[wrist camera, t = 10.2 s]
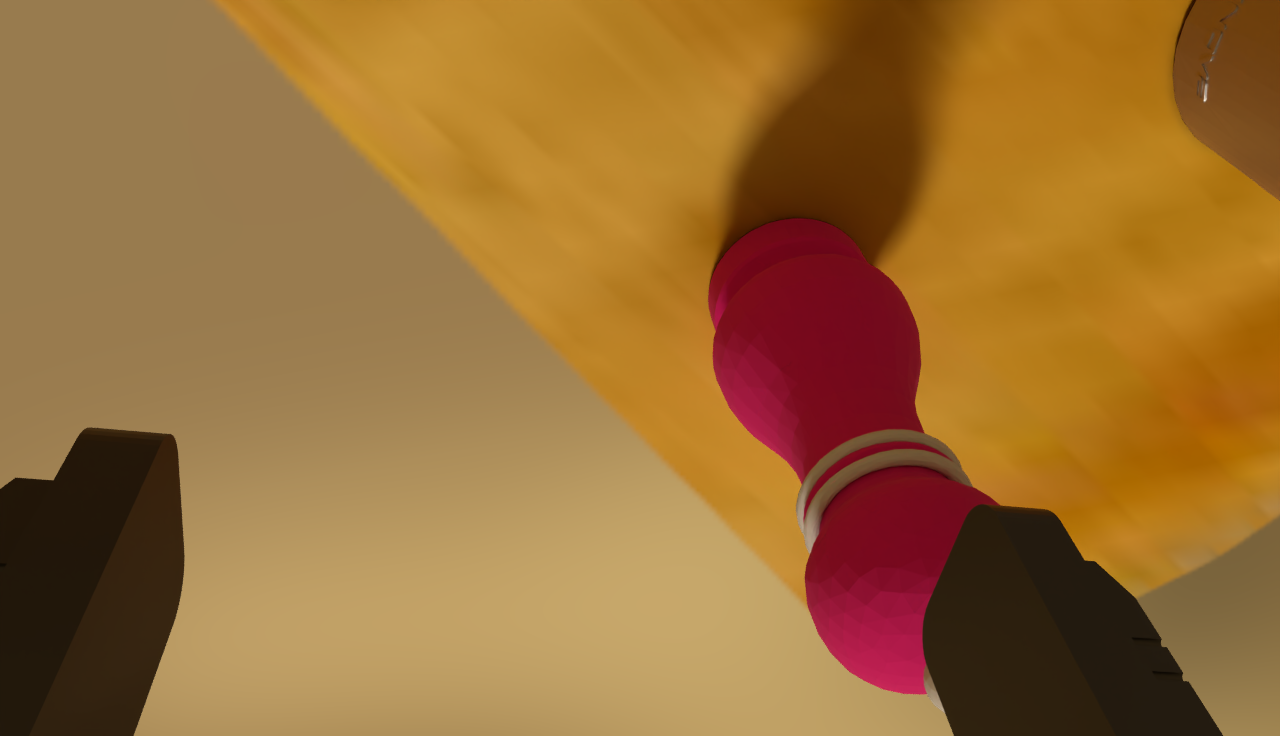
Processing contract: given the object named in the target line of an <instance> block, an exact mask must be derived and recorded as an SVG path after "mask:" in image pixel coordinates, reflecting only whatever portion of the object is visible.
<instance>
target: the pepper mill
mask: <svg viewBox="0 0 1280 736" xmlns="http://www.w3.org/2000/svg"><path fill="white" fill-rule="evenodd" d="M708 302H709V310H710V314H711V318H712V321H713V324H714V327H715V330H716V333H715V336H714V343H713V366H714V371H715V375H716V379H717V382H718V384H719V386H720V388H721V390H722V392H723V395H724V397H725V399H726V401H727V403H728V406H729V408H730V409H731V410H732V412H733V413H734V414H735V416H736V417H737V418H738V420H739V421H740V422H741V423H742V424H743V425H744V427H745V428H746V429H747V430H748V431H749V432H750V433H751V434H752V435H753V436H754V437H755V438H757V439H758V440H759V441H761V442H762V443H763V444H765V445H766V446H767V447H769V448H770V449H771V450H773V451H774V452H776V453H777V454H778V455H780V456H781V457H782V458H783V459H785V460H786V461H787V462H788V464H789V465H790V466H791V467H792V468H793V470H794V471H795V472H796V473H797V475H798V477H799V479H800V481H801V483H802V486H801V489H800V491H799V494H798V499H797V504H796V512H797V519H798V524H799V526H800V529H801V531H802V533H803V534H804V538H805V545H806V547H807V549H808V552H809V554H810V556H809V559H808V562H807V565H806V571H805V586H806V597H807V604H808V608H809V611H810V613H811V616H812V619H813V621H814V624H815V626H816V629H817V632H818V634H819V636H820V637H821V639H822V640H823V642H824V643H825V645H826V646H827V648H828V649H829V651H830V652H831V653H832V655H833V656H834V657H835V658H836V659H837V660H838V661H839V662H840V663H841V664H842V665H843V666H844V667H845V668H846V669H847V670H848V671H849V672H851V673H852V674H854V675H856V676H857V677H859V678H861V679H863V680H864V681H866V682H868V683H870V684H872V685H875V686H877V687H879V688H882V689H884V690H888V691H893V692H898V693H903V694H927V695H928V697H929V699H930V700H931V701H932V703H933V704H934V705H935V706H936V707H937V708H939V709H940V710H942V711H943V712H944V713H945V711H944V709H943V706H942V704H941V701H940V698H939V696H938V693H937V691H936V688H935V686H934V683H933V681H932V678H931V675H930V673H929V670H928V668H927V665H926V661H925V657H924V651H923V642H922V629H923V620H924V615H925V611H926V607H927V605H928V602H929V600H930V597H931V595H932V593H933V591H934V588H935V586H936V584H937V582H938V579H939V577H940V575H941V572H942V570H943V568H944V566H945V563H946V561H947V559H948V556H949V554H950V552H951V550H952V547H953V545H954V543H955V540H956V538H957V536H958V534H959V531H960V529H961V527H962V524H963V522H964V520H965V518H966V516H967V514H968V513H969V512H970V510H971V509H973V508H974V507H975V506H977V505H980V504H987V505H999V504H998V503H997V502H995V501H994V500H993V499H992V498H990V497H989V496H988V495H986V494H984V493H982V492H981V491H979V490H977V489H976V488H973V486H972V484H971V482H970V480H969V478H968V477H967V475H966V474H965V472H964V471H963V470H962V468H961V465H960V462H959V460H958V459H957V457H956V456H955V454H954V453H953V452H952V451H951V450H950V449H949V448H948V447H947V446H946V445H945V444H944V443H943V442H941V441H939V440H938V439H936V438H934V437H932V436H929V435H927V434H925V433H924V431H923V428H922V426H921V423H920V421H919V418H918V416H917V413H916V407H915V397H916V392H917V387H918V382H919V375H920V368H921V355H920V341H919V332H918V328H917V325H916V322H915V319H914V317H913V314H912V312H911V310H910V307H909V305H908V303H907V301H906V299H905V297H904V296H903V294H902V292H901V291H900V289H899V288H898V287H897V286H896V285H895V284H894V282H893V281H892V280H891V279H890V278H889V277H887V276H886V275H885V274H884V273H883V272H881V271H880V270H879V269H878V268H876V267H874V266H872V265H870V264H868V263H867V261H866V259H865V257H864V256H863V254H862V252H861V251H860V249H859V247H858V246H857V245H856V243H855V242H854V241H853V240H852V239H851V238H850V237H849V236H848V235H846V234H845V233H844V232H843V231H841V230H840V229H838V228H837V227H835V226H833V225H830V224H828V223H826V222H822V221H818V220H814V219H804V218H794V219H786V220H779V221H774V222H771V223H768V224H765V225H763V226H761V227H759V228H757V229H755V230H752V231H751V232H749V233H748V234H746V235H745V236H743V237H742V238H741V239H740V240H738V241H737V242H736V243H735V244H734V245H732V247H731V248H730V249H729V250H728V251H727V252H726V253H725V255H724V256H723V258H722V259H721V260H720V262H719V263H718V265H717V267H716V269H715V271H714V274H713V276H712V279H711V283H710V287H709V296H708ZM999 506H1000V505H999Z"/></svg>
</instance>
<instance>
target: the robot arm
mask: <svg viewBox="0 0 1280 736" xmlns="http://www.w3.org/2000/svg"><path fill="white" fill-rule="evenodd" d="M1173 83H1174V94H1175V101H1176V103H1177V106H1178V109H1179V112H1180V114H1181V117H1182V120H1183V121H1184V123H1185V124H1186V125H1187V127H1188V128H1189V129H1190V131H1191V132H1192V134H1193V135H1194V136H1195V137H1196V138H1197V139H1198V140H1200V141H1201V142H1202V143H1204V144H1205V145H1206V146H1208V147H1209V148H1210V149H1212V150H1213V151H1214V152H1216V153H1217V154H1218V155H1220V156H1221V157H1222V158H1224V159H1225V160H1226V161H1228V162H1229V163H1230V164H1232V165H1233V166H1234V167H1236V168H1237V169H1238V170H1240V171H1241V172H1242V173H1244V174H1245V175H1246V176H1248V177H1249V178H1250V179H1252V180H1253V181H1255V182H1256V183H1257V184H1258V185H1259V186H1261V187H1262V188H1263V189H1264V190H1266V191H1267V192H1268V193H1270V194H1271V195H1273V196H1274V197H1275V198H1277V199H1278V200H1279V201H1280V0H1196V2H1195V4H1194V6H1193V8H1192V9H1191V11H1190V13H1189V15H1188V17H1187V19H1186V21H1185V24H1184V27H1183V30H1182V33H1181V36H1180V39H1179V42H1178V45H1177V48H1176V54H1175V62H1174V69H1173ZM178 463H179V461H178V450H177V444H176V440H175V438H174V436H173V435H171V434H162V433H150V432H137V431H126V430H114V429H102V428H86V429H84V430H83V431H82V432H81V433H80V435H79V436H78V438H77V439H76V441H75V443H74V445H73V446H72V448H71V450H70V452H69V454H68V455H67V457H66V459H65V461H64V463H63V464H62V466H61V468H60V470H59V472H58V473H57V475H56V477H55V479H54V480H39V479H26V478H15V479H13V480H12V481H11V482H9V483H8V484H6V485H5V486H4V487H2V488H1V489H0V736H134V733H135V730H136V727H137V725H138V722H139V719H140V716H141V713H142V711H143V708H144V705H145V702H146V699H147V696H148V693H149V691H150V688H151V685H152V683H153V680H154V677H155V674H156V671H157V669H158V666H159V663H160V660H161V657H162V655H163V652H164V649H165V646H166V643H167V641H168V638H169V635H170V632H171V629H172V626H173V624H174V621H175V617H176V614H177V610H178V605H179V601H180V596H181V591H182V584H183V575H184V542H183V525H182V509H181V494H180V478H179V464H178ZM922 642H923V651H924V657H925V661H926V665H927V668H928V670H929V673H930V675H931V678H932V681H933V683H934V686H935V688H936V691H937V693H938V696H939V698H940V701H941V704H942V706H943V709H944V711H945V714H946V716H947V719H948V721H949V724H950V727H951V729H952V732H953V734H954V736H1223V735H1222V733H1221V732H1220V730H1219V728H1218V727H1217V725H1216V724H1215V722H1214V721H1213V719H1212V717H1211V716H1210V714H1209V713H1208V711H1207V710H1206V708H1205V706H1204V705H1203V703H1202V702H1201V700H1200V699H1199V697H1198V695H1197V694H1196V692H1195V691H1194V689H1193V688H1192V686H1191V685H1190V683H1189V682H1187V681H1183V679H1182V674H1183V672H1182V670H1181V669H1180V667H1179V666H1178V664H1177V663H1176V661H1175V659H1174V658H1173V656H1172V655H1171V653H1170V652H1169V650H1168V648H1167V647H1162V646H1161V637H1160V636H1159V634H1158V633H1157V631H1156V630H1155V628H1154V626H1153V625H1152V623H1151V622H1150V620H1149V619H1148V617H1147V615H1146V614H1145V612H1144V611H1143V609H1142V608H1141V606H1140V605H1139V603H1138V601H1137V600H1136V598H1135V597H1134V596H1132V595H1131V594H1130V593H1129V592H1128V591H1127V590H1126V589H1125V588H1124V587H1123V586H1121V585H1120V584H1119V583H1118V582H1117V581H1116V580H1115V579H1114V578H1113V577H1112V576H1110V575H1109V574H1108V573H1107V572H1106V571H1105V570H1104V569H1103V568H1102V567H1101V566H1099V565H1098V564H1097V563H1096V562H1095V561H1085V560H1084V559H1083V557H1082V556H1081V554H1080V552H1079V551H1078V549H1077V547H1076V546H1075V544H1074V542H1073V541H1072V539H1071V537H1070V536H1069V534H1068V533H1067V531H1066V529H1065V528H1064V526H1063V524H1062V523H1061V521H1060V520H1059V518H1058V517H1057V516H1056V515H1055V514H1054V513H1053V512H1051V511H1049V510H1045V509H1035V508H1023V507H1011V506H999V505H987V504H980V505H977V506H975V507H974V508H973V509H971V510H970V512H969V513H968V514H967V516H966V518H965V520H964V522H963V524H962V527H961V529H960V531H959V534H958V536H957V538H956V540H955V543H954V545H953V547H952V550H951V552H950V554H949V556H948V559H947V561H946V563H945V566H944V568H943V570H942V572H941V575H940V577H939V579H938V582H937V584H936V586H935V588H934V591H933V593H932V595H931V597H930V600H929V602H928V605H927V607H926V611H925V615H924V620H923V629H922Z"/></svg>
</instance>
